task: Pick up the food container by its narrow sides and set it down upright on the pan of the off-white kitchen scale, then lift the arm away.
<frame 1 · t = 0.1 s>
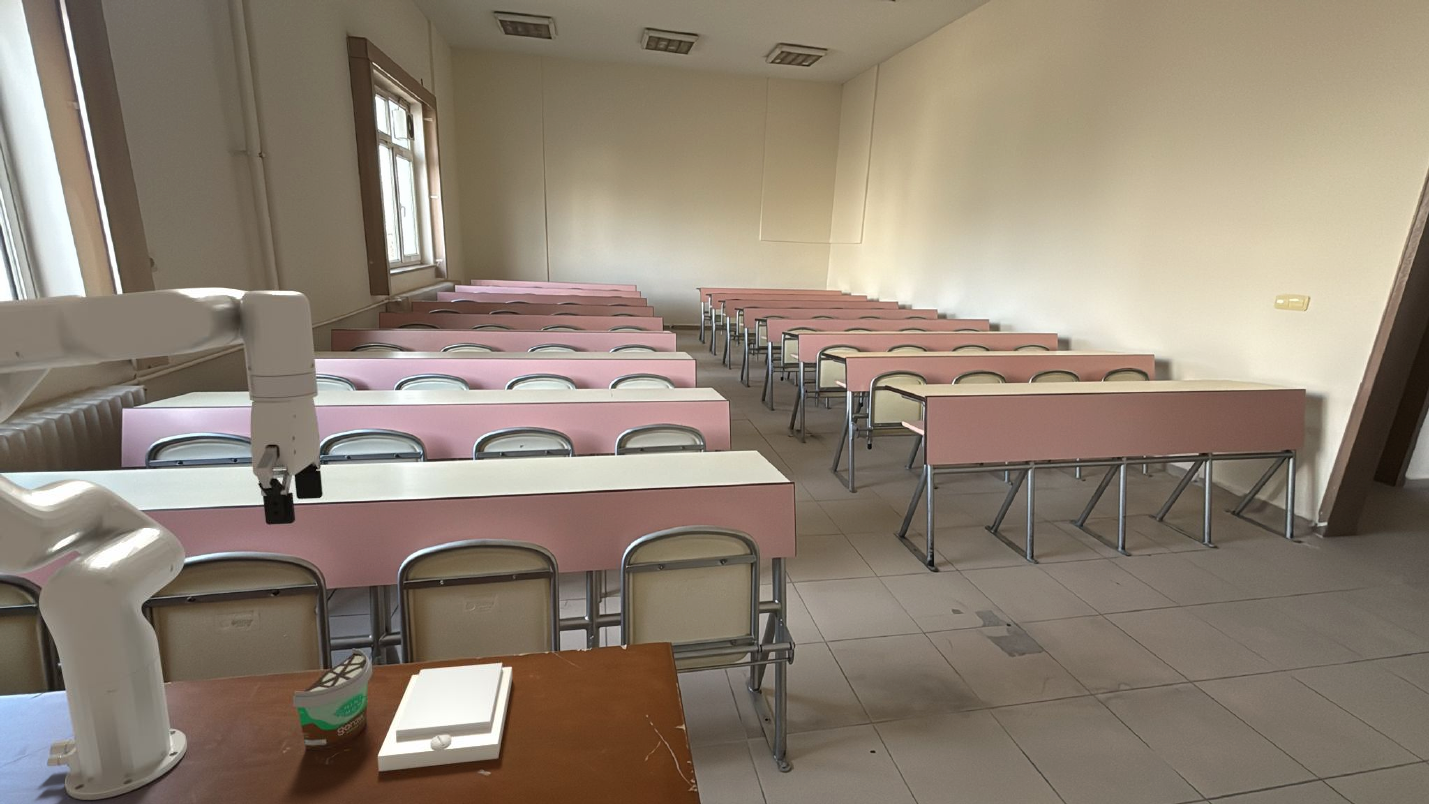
hand: (296, 509, 88), 37 cm above the table, tool pointing down, fingers open, 9 cm apart
scale: (452, 720, 102), on the table
food container: (348, 732, 99), on the table
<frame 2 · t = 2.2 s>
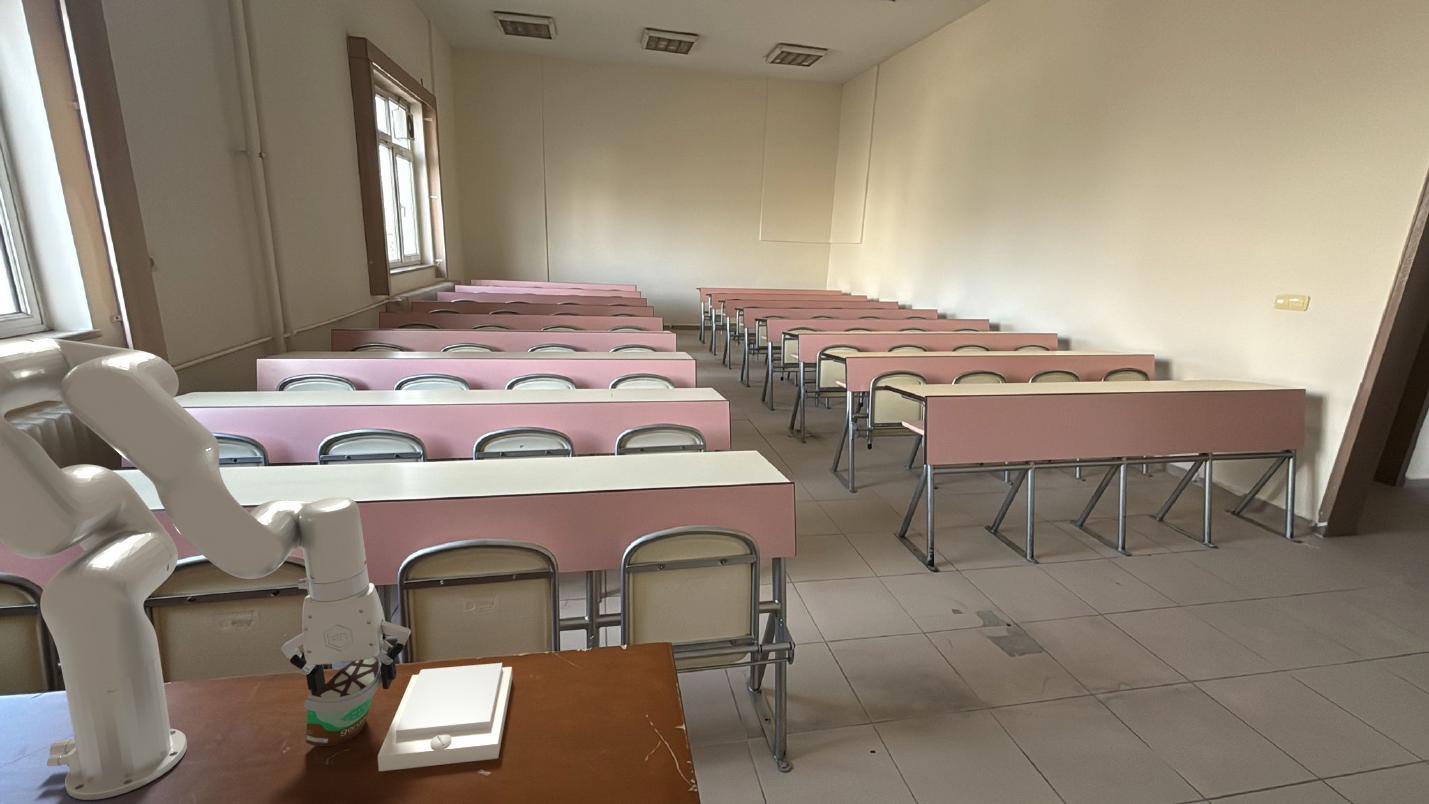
hand: (354, 688, 98), 7 cm above the table, tool pointing down, fingers open, 9 cm apart
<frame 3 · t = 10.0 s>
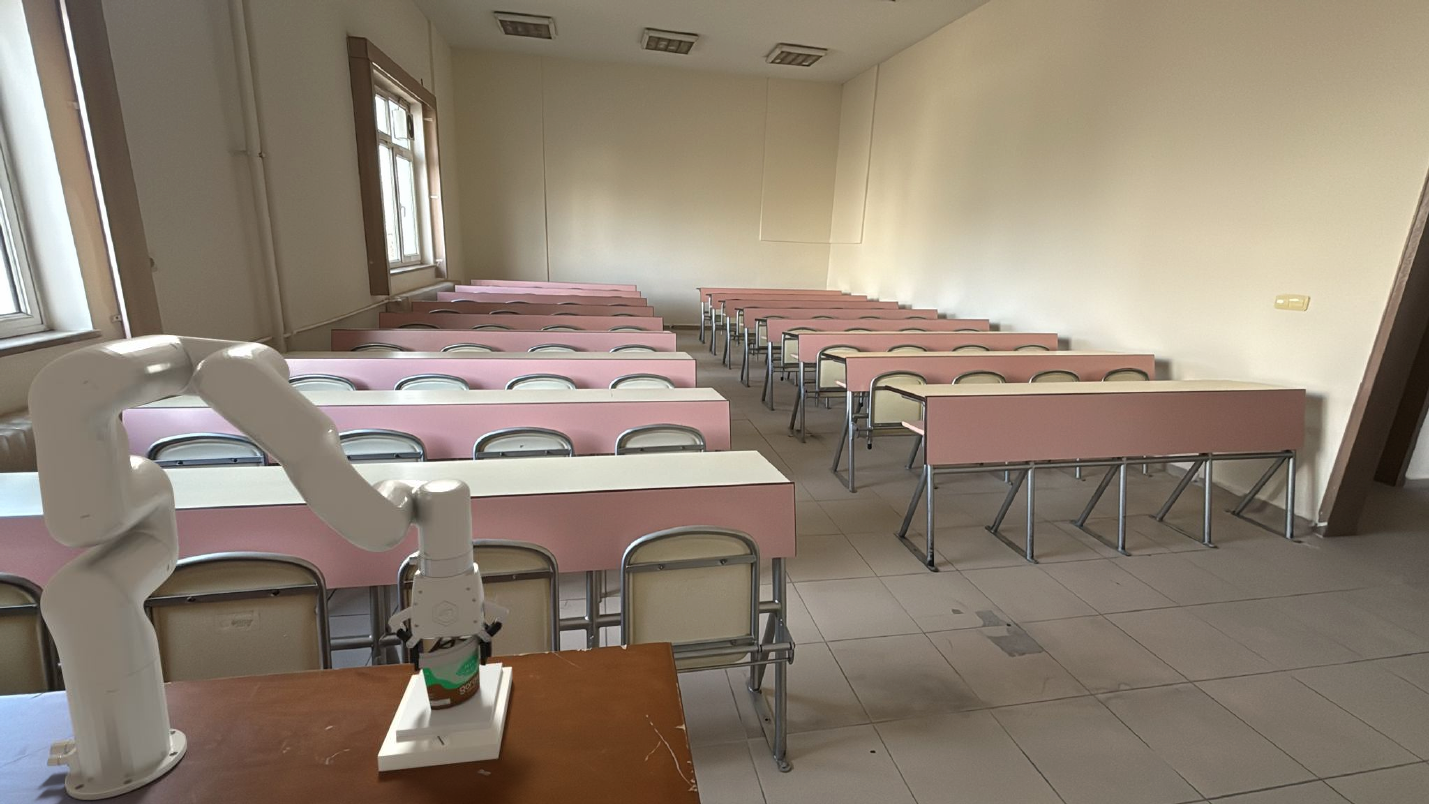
hand: (452, 663, 101), 9 cm above the table, tool pointing down, fingers open, 9 cm apart
food container: (465, 693, 103), point 4 cm above the table, touching gripper, scale
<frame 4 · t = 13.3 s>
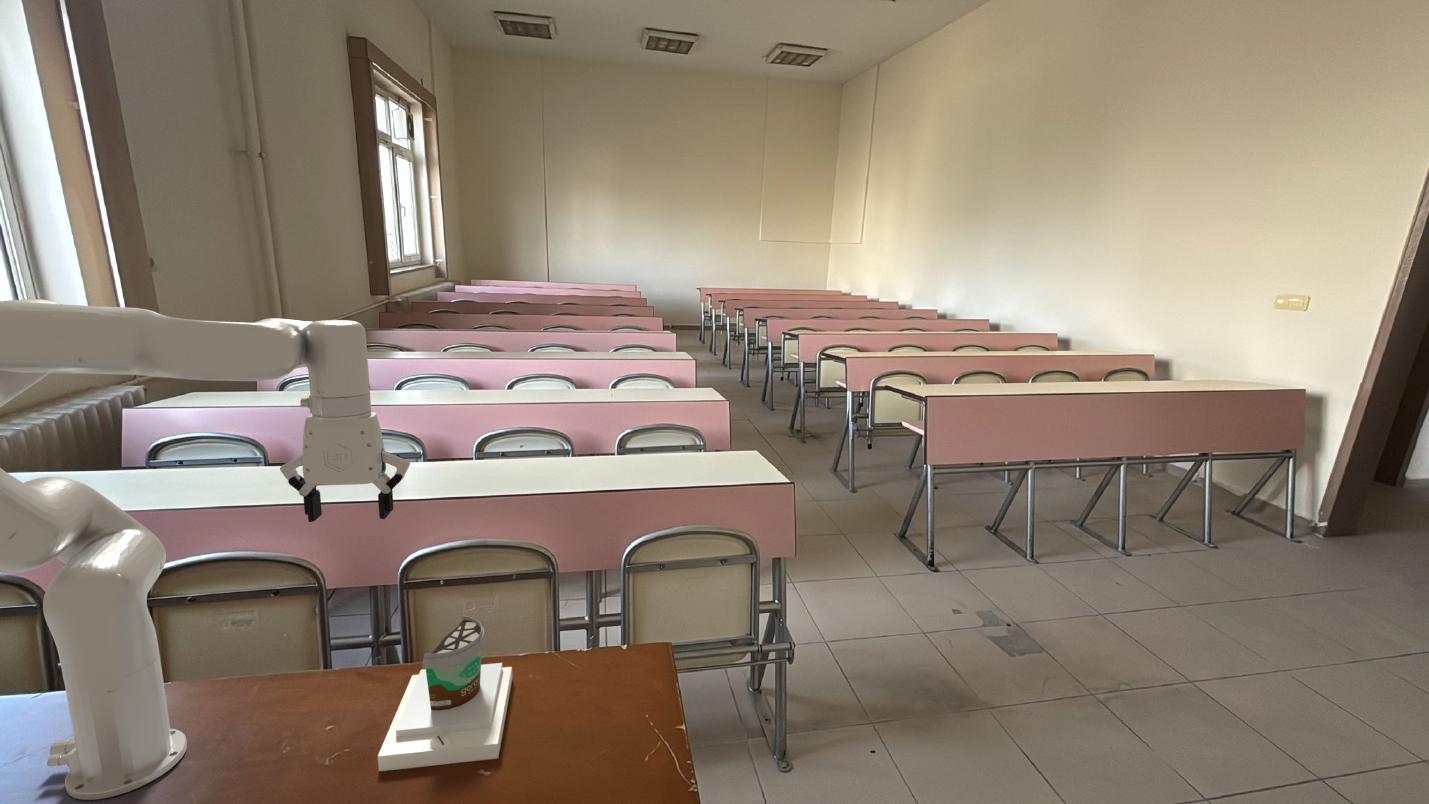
hand: (350, 517, 98), 32 cm above the table, tool pointing down, fingers open, 9 cm apart
food container: (465, 694, 103), point 3 cm above the table, touching scale
at the end: food container inside the target area on the scale (1.8 cm from its centre), point 3.4 cm above the scale's base; food container tilted 0°; the gripper is holding nothing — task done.
